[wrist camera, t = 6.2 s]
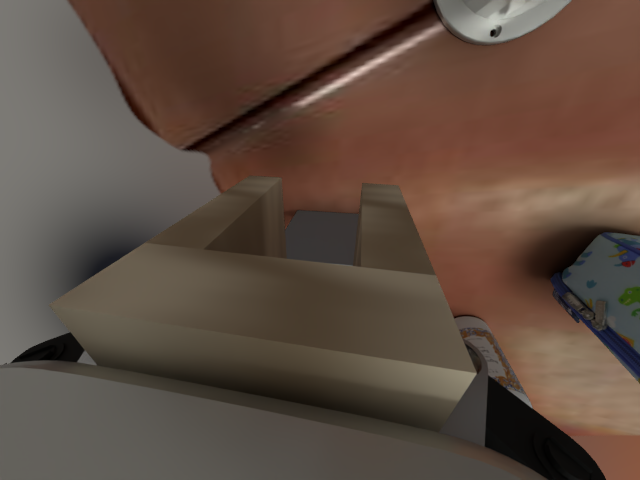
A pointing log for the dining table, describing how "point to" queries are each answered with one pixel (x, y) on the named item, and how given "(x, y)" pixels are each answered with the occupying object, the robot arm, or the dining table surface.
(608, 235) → the lunch box
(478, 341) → the bath foam
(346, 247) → the shelf stand
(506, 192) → the dining table surface
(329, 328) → the birch clip
